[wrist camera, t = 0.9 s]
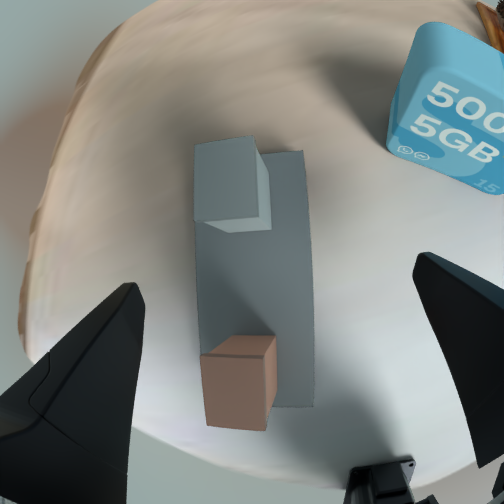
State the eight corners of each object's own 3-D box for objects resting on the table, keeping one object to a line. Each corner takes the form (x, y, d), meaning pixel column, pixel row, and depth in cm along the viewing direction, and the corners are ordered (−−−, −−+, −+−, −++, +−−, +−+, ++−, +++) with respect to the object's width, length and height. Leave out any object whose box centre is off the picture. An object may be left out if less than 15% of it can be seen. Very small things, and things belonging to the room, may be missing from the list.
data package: (381, 152, 20) (425, 59, 9) (387, 109, 20) (421, 12, 9) (495, 198, 18) (580, 157, 6) (495, 155, 18) (566, 100, 6)
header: (313, 390, 20) (313, 406, 17) (217, 387, 22) (205, 401, 19) (304, 165, 22) (302, 150, 19) (209, 175, 23) (195, 163, 20)
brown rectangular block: (282, 378, 20) (265, 431, 12) (242, 377, 21) (206, 425, 13) (281, 326, 21) (262, 358, 13) (240, 326, 21) (199, 356, 13)
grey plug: (278, 235, 21) (256, 214, 13) (236, 238, 22) (193, 220, 14) (274, 181, 22) (252, 135, 14) (234, 186, 22) (194, 144, 14)
